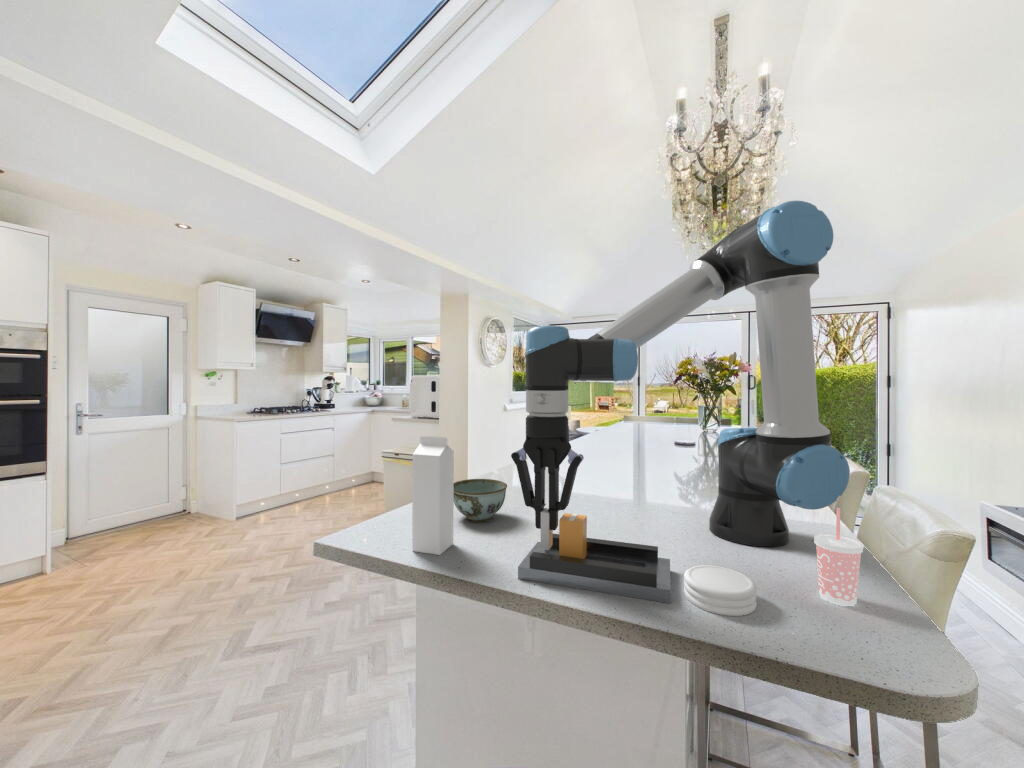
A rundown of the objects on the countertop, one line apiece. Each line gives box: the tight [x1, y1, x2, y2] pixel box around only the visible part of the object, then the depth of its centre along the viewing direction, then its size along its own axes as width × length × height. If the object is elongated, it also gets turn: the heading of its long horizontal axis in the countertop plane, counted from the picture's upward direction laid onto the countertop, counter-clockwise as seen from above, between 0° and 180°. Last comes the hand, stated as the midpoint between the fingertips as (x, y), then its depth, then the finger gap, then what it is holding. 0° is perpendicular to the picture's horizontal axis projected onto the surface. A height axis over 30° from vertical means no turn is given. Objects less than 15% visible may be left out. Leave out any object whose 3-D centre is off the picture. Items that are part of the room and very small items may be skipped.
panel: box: [517, 533, 672, 604], centre depth 75 cm, size 24×12×4 cm, turn 71°
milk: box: [411, 435, 455, 556], centre depth 86 cm, size 6×6×22 cm
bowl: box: [453, 478, 508, 523], centre depth 105 cm, size 14×13×8 cm
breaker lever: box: [558, 512, 588, 559], centre depth 76 cm, size 4×4×7 cm
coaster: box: [683, 564, 758, 617], centre depth 67 cm, size 10×10×4 cm
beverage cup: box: [813, 506, 865, 605], centre depth 67 cm, size 6×6×14 cm
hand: (546, 546), depth 78 cm, fingers closed
